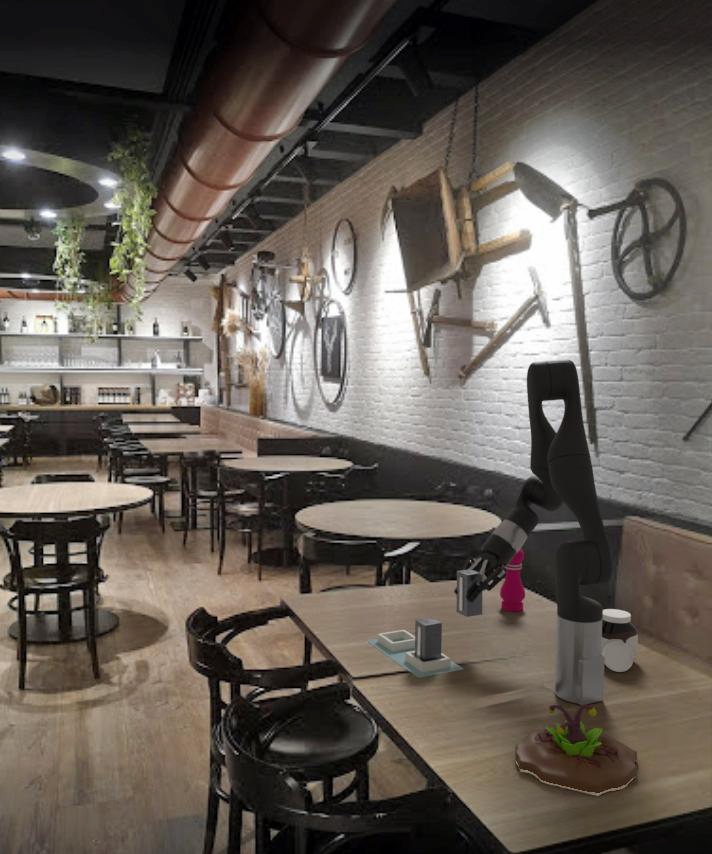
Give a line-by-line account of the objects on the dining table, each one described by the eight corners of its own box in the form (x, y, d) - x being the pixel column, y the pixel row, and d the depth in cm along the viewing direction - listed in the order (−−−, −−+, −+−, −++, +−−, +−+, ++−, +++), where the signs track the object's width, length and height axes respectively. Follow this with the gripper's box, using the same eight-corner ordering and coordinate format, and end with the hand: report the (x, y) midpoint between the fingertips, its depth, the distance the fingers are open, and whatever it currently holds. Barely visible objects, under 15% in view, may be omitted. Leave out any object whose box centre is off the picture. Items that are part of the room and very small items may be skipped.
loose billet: (482, 614, 181) (482, 573, 180) (465, 617, 179) (466, 575, 178) (471, 609, 185) (472, 569, 184) (455, 612, 183) (456, 571, 182)
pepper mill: (523, 605, 225) (525, 538, 224) (526, 612, 218) (528, 544, 216) (498, 604, 226) (500, 538, 224) (500, 611, 218) (502, 543, 217)
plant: (613, 810, 119) (615, 741, 118) (500, 770, 131) (501, 707, 130) (650, 760, 135) (652, 698, 134) (546, 728, 147) (548, 672, 146)
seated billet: (441, 665, 173) (441, 623, 173) (423, 669, 171) (424, 625, 171) (430, 659, 177) (431, 617, 177) (413, 662, 175) (414, 620, 175)
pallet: (464, 675, 172) (464, 660, 171) (418, 684, 166) (418, 668, 166) (407, 639, 195) (407, 625, 195) (365, 646, 190) (365, 632, 189)
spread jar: (619, 652, 187) (621, 606, 186) (653, 669, 177) (655, 620, 176) (580, 659, 182) (581, 611, 182) (612, 676, 172) (614, 626, 171)
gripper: (478, 528, 191) (437, 580, 186) (514, 538, 178) (470, 595, 173) (496, 547, 193) (455, 599, 188) (531, 558, 180) (489, 615, 176)
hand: (462, 597), depth 181 cm, fingers closed on loose billet, 4 cm apart
